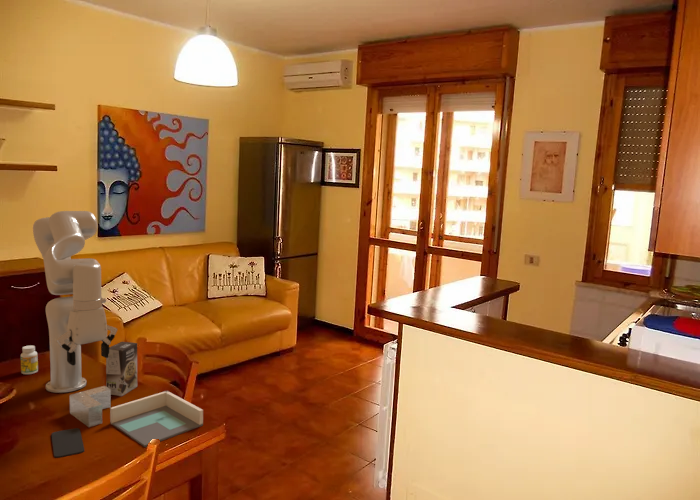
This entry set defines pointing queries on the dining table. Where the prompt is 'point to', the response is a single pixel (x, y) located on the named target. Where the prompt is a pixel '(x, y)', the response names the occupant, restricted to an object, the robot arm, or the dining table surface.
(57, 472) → the dining table surface
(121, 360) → the coffee box
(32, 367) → the supplement bottle
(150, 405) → the corner arena
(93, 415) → the aluminium bracket
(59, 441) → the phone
